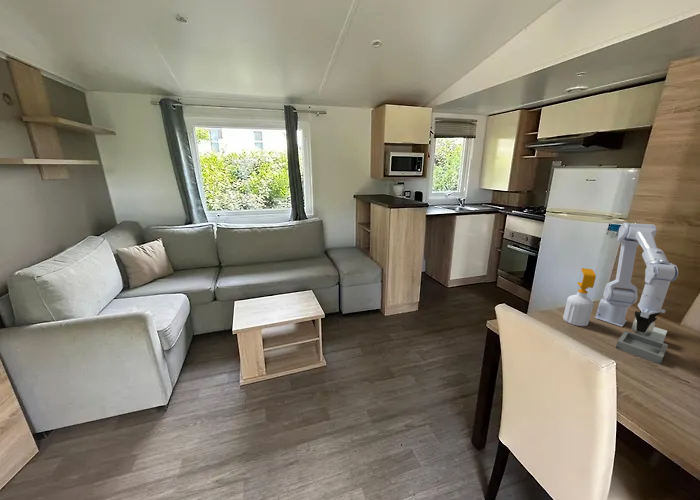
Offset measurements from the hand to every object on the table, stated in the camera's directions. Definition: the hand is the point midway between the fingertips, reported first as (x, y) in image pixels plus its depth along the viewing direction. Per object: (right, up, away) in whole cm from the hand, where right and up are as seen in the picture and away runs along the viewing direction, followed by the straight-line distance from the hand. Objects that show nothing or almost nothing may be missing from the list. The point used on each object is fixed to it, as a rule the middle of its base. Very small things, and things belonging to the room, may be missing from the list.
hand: (642, 328), depth 108 cm
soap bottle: (-9, -3, +21) cm, 23 cm away
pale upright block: (+11, -7, +8) cm, 15 cm away
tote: (+1, -8, +2) cm, 8 cm away
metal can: (0, -1, 0) cm, 1 cm away
